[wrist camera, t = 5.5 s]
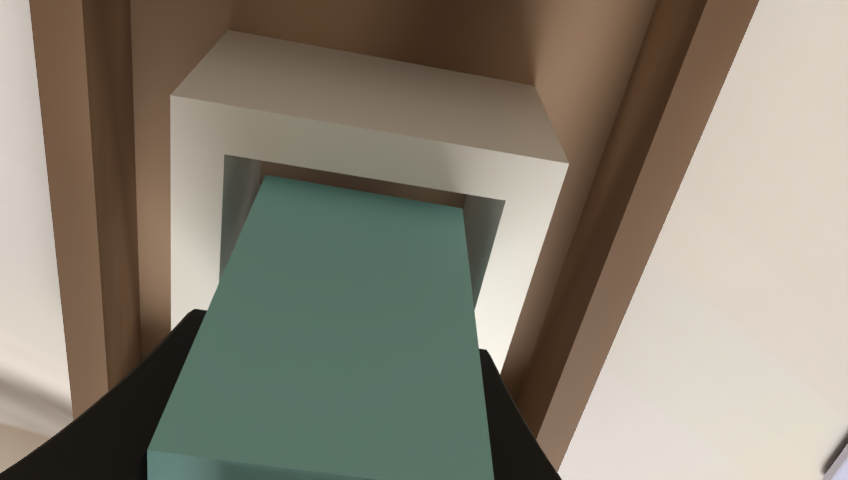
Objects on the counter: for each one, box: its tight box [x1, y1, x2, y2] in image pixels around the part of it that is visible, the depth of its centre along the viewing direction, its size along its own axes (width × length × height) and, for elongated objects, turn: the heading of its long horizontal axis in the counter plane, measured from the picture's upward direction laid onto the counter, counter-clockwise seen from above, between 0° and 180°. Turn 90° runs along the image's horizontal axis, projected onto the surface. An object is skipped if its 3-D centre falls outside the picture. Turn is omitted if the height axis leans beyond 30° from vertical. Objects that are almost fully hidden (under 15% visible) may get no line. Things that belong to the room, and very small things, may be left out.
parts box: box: [29, 0, 759, 472], centre depth 18 cm, size 14×16×3 cm
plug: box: [147, 175, 494, 480], centre depth 12 cm, size 4×4×8 cm
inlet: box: [170, 30, 569, 374], centre depth 17 cm, size 8×8×4 cm
